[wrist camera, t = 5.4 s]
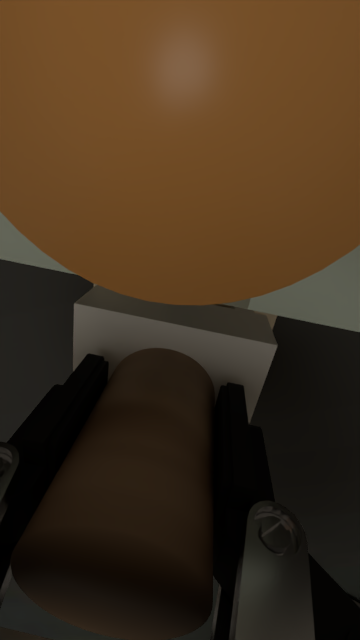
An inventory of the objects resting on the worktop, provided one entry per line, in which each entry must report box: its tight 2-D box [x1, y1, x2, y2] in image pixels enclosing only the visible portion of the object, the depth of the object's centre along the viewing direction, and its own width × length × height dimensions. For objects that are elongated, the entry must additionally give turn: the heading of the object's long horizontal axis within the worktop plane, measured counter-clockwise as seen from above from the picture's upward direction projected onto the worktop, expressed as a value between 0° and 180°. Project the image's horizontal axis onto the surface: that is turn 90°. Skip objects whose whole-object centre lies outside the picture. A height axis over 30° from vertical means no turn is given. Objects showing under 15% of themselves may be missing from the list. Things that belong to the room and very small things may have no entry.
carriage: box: [10, 285, 278, 640], centre depth 10 cm, size 6×7×10 cm
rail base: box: [0, 212, 360, 332], centre depth 13 cm, size 26×9×10 cm, turn 170°
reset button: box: [0, 0, 360, 305], centre depth 4 cm, size 4×4×3 cm
